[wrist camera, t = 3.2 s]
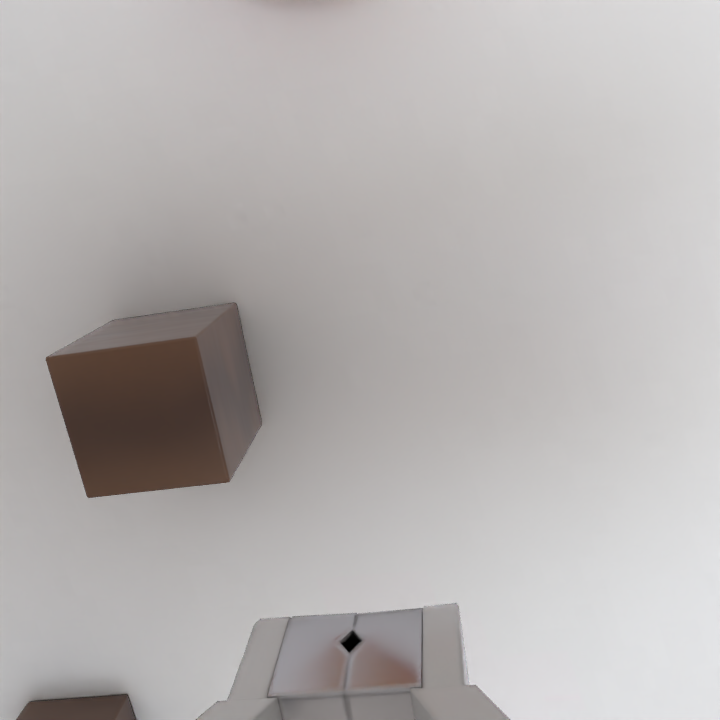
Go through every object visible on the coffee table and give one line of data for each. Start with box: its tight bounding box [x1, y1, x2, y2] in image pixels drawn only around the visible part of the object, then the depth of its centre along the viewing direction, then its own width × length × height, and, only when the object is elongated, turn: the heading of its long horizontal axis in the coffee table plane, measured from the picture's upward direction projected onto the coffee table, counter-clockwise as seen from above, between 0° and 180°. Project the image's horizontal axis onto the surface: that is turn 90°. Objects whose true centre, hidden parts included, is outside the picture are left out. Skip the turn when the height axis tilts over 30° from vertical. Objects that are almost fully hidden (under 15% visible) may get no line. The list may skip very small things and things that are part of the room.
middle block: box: [46, 303, 262, 498], centre depth 24 cm, size 5×5×5 cm
